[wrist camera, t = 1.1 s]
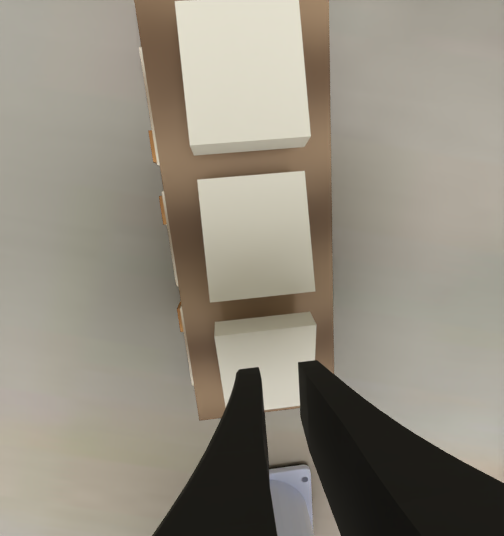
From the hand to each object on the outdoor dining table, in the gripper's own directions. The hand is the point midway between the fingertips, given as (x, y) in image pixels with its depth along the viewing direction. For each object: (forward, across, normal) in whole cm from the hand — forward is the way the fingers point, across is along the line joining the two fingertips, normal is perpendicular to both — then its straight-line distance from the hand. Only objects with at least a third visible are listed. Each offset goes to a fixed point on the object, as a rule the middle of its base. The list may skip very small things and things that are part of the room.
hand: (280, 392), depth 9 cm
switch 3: (+5, 0, +2) cm, 5 cm away
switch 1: (+5, 0, -10) cm, 11 cm away
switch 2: (+5, 0, -4) cm, 6 cm away
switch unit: (+9, 0, -4) cm, 10 cm away
